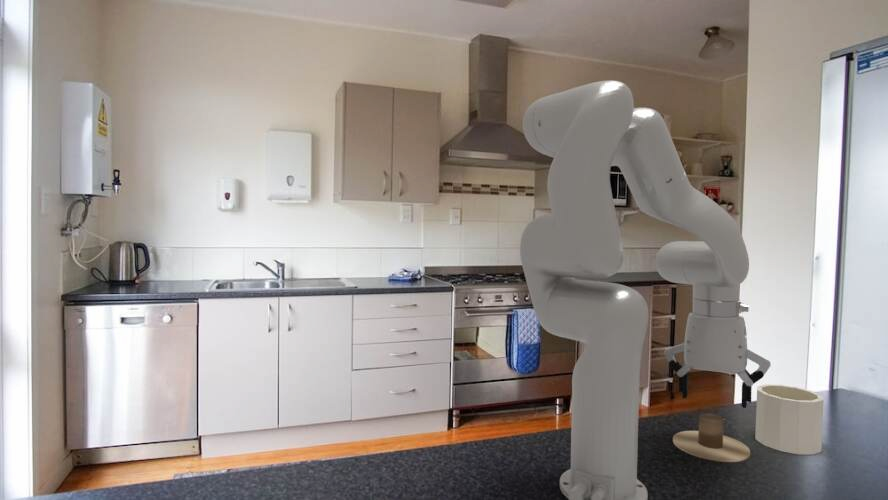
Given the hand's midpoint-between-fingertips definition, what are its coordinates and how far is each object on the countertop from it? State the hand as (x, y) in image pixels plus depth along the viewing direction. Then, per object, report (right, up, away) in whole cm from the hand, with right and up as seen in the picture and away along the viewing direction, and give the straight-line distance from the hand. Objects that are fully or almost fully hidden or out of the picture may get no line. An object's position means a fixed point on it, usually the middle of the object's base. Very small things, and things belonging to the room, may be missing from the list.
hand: (714, 400), depth 95 cm
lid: (-1, -9, 0) cm, 9 cm away
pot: (+15, -9, +2) cm, 17 cm away
